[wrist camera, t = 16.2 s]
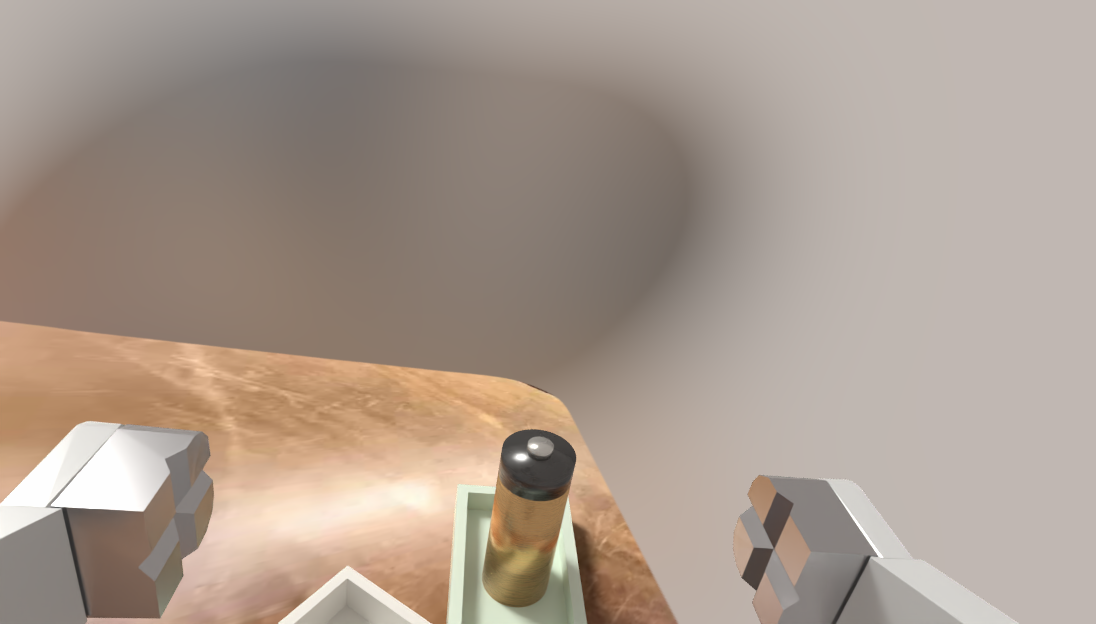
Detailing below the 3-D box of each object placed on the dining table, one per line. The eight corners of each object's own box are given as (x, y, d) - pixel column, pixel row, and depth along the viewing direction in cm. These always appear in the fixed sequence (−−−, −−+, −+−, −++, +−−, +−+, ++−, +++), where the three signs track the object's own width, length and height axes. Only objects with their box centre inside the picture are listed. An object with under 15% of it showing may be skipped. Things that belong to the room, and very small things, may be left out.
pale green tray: (584, 687, 39) (592, 660, 38) (441, 683, 37) (445, 655, 36) (562, 515, 51) (567, 491, 50) (454, 508, 50) (457, 484, 49)
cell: (468, 582, 43) (488, 446, 38) (506, 542, 47) (529, 413, 42) (524, 619, 41) (553, 481, 36) (559, 574, 45) (590, 443, 40)
